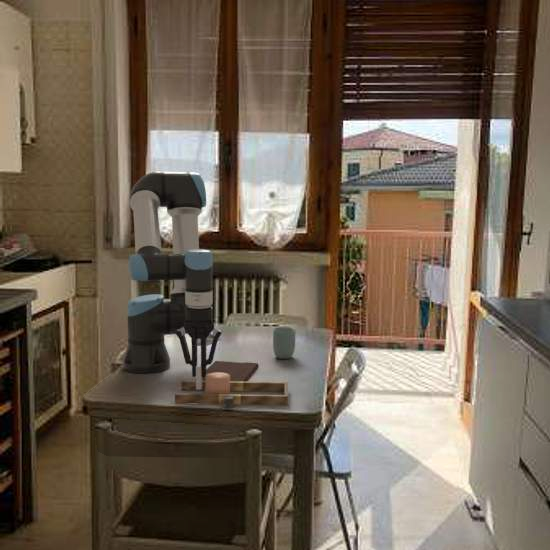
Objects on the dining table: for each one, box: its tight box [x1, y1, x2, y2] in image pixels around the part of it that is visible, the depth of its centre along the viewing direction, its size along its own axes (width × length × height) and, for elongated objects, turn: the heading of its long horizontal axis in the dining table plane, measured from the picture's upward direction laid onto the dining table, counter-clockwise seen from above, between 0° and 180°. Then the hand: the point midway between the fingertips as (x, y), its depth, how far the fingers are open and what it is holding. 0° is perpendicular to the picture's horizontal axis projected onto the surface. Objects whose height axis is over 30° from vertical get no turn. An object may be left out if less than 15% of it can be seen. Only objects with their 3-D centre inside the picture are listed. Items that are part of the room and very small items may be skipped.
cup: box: [272, 326, 296, 360], centre depth 210 cm, size 8×8×10 cm
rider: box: [204, 372, 231, 394], centre depth 171 cm, size 7×7×6 cm
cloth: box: [197, 333, 222, 347], centre depth 234 cm, size 26×14×2 cm, turn 176°
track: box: [174, 380, 289, 409], centre depth 170 cm, size 31×14×2 cm, turn 89°
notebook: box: [194, 360, 259, 382], centre depth 191 cm, size 15×20×2 cm
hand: (199, 387), depth 171 cm, fingers closed
